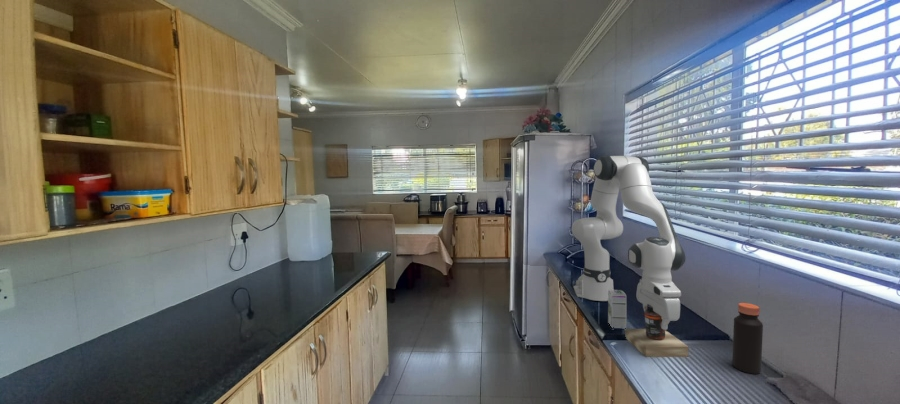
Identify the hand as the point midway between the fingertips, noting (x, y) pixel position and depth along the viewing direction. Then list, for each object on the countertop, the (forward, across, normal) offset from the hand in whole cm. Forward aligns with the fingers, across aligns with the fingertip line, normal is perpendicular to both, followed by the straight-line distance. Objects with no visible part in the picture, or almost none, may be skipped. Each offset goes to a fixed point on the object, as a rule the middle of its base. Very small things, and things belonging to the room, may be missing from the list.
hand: (655, 322), depth 120 cm
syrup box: (+9, -16, -6) cm, 19 cm away
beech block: (+9, 0, 0) cm, 9 cm away
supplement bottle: (+5, 0, 0) cm, 5 cm away
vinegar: (+9, +14, +20) cm, 26 cm away
